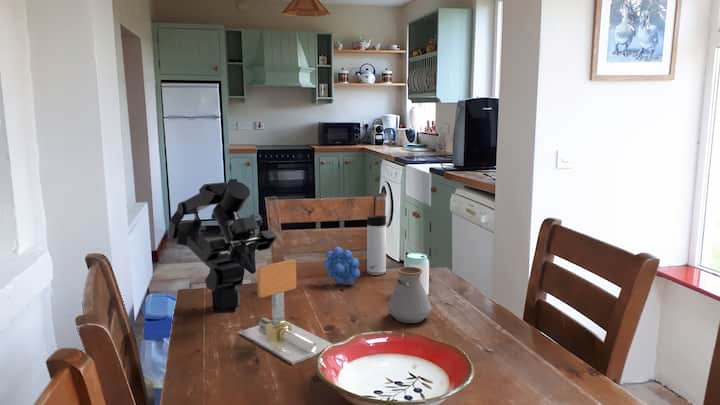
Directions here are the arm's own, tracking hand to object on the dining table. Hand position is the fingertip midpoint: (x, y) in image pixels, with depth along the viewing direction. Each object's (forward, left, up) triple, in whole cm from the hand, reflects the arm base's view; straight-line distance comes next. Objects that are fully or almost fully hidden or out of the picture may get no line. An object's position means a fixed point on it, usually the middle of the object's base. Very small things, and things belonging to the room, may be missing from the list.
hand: (254, 272), depth 132 cm
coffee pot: (+38, -2, -14) cm, 40 cm away
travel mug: (+34, +42, -14) cm, 56 cm away
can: (+44, +20, -14) cm, 50 cm away
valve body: (+9, -10, -13) cm, 19 cm away
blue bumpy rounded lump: (+22, +30, -14) cm, 39 cm away
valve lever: (+7, -8, -9) cm, 14 cm away
